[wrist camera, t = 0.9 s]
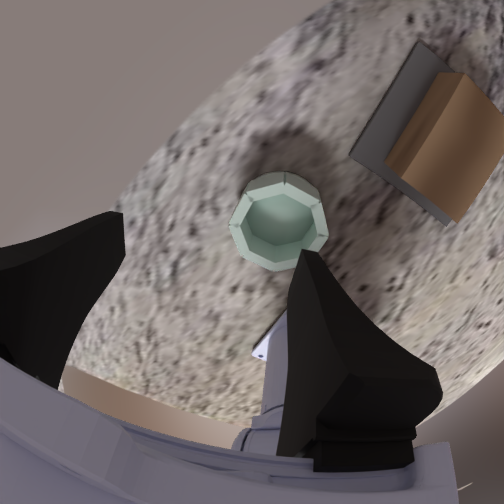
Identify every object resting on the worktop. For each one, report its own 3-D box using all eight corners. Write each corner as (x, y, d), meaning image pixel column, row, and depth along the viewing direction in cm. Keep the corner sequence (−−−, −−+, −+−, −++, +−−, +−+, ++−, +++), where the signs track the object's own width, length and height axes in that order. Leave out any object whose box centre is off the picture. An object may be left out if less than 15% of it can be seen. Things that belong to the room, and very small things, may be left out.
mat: (505, 129, 15) (508, 130, 15) (444, 224, 20) (446, 226, 20) (416, 42, 13) (419, 41, 13) (348, 155, 18) (349, 156, 18)
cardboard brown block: (487, 121, 15) (515, 131, 12) (436, 202, 19) (457, 223, 16) (438, 72, 14) (464, 73, 11) (383, 162, 18) (401, 178, 15)
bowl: (337, 197, 20) (344, 215, 18) (295, 259, 23) (295, 282, 21) (262, 156, 19) (258, 167, 17) (225, 225, 22) (217, 245, 20)
